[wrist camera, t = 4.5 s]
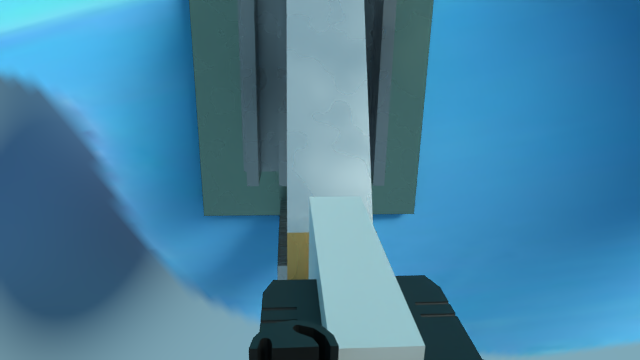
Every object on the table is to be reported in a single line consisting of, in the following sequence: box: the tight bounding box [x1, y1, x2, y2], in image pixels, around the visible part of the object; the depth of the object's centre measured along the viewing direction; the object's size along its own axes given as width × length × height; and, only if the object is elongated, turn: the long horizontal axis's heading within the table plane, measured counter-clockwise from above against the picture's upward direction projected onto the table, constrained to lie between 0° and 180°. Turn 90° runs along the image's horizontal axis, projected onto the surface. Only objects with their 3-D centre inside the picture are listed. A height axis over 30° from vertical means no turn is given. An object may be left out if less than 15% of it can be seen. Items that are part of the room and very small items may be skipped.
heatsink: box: [189, 0, 433, 280], centre depth 24 cm, size 19×14×10 cm
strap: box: [287, 0, 373, 280], centre depth 17 cm, size 16×3×2 cm, turn 177°
